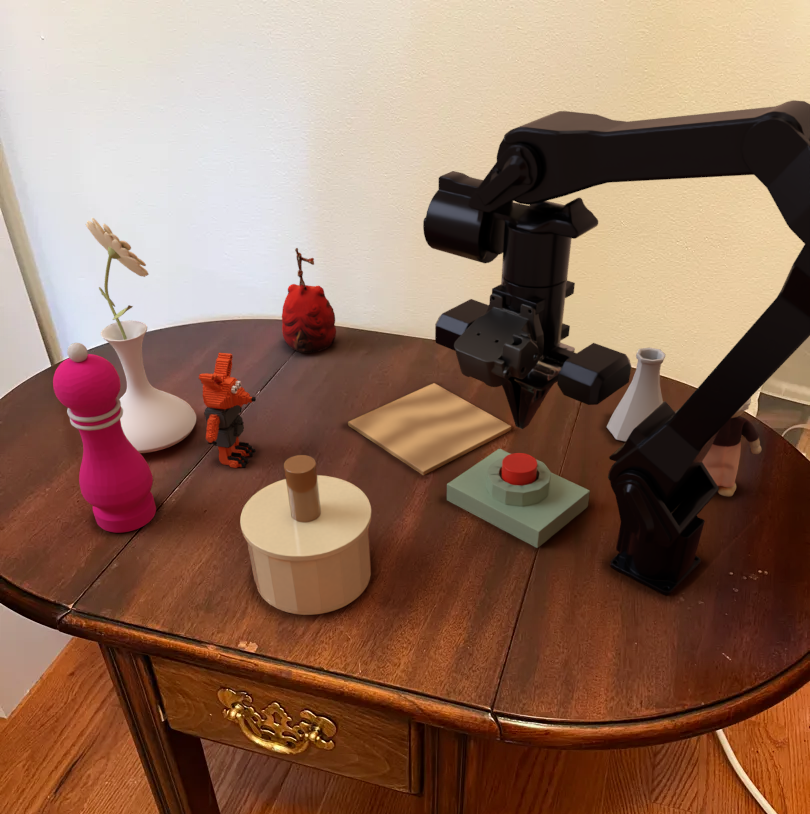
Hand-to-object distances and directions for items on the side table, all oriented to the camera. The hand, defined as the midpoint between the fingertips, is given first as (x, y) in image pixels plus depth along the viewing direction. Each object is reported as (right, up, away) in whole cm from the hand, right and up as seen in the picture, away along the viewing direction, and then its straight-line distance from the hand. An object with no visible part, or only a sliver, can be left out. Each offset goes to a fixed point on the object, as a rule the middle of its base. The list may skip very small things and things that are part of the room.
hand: (522, 426), depth 83 cm
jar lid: (-21, -9, -6) cm, 24 cm away
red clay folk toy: (-25, +16, +35) cm, 46 cm away
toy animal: (-30, -2, +14) cm, 34 cm away
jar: (-21, -15, -2) cm, 25 cm away
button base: (0, -7, +6) cm, 10 cm away
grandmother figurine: (+21, -6, +8) cm, 23 cm away
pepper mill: (-41, -9, +6) cm, 43 cm away
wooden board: (-9, +2, +18) cm, 20 cm away
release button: (0, -5, +4) cm, 6 cm away
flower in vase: (-43, +2, +19) cm, 47 cm away
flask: (+16, +2, +17) cm, 23 cm away
